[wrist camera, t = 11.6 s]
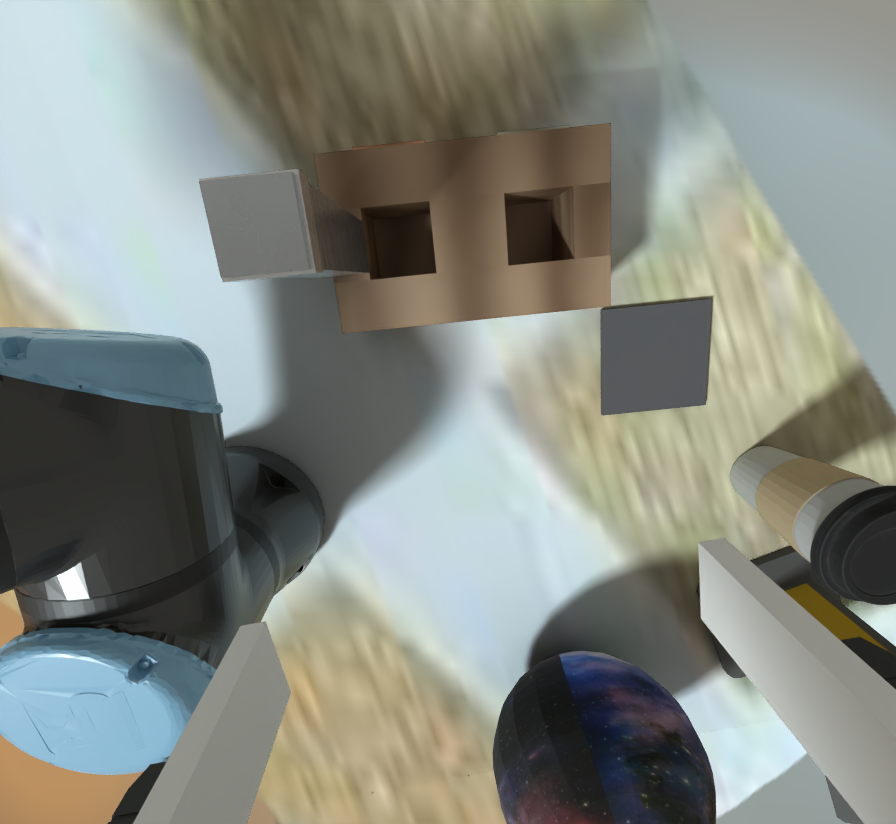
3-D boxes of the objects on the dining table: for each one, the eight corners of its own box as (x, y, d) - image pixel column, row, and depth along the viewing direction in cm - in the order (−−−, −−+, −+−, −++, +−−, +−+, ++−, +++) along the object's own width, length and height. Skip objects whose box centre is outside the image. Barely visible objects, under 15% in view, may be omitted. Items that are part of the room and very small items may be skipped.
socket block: (359, 323, 42) (342, 333, 34) (337, 173, 38) (312, 147, 31) (578, 300, 42) (610, 306, 34) (575, 148, 38) (610, 116, 31)
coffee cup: (822, 453, 47) (995, 532, 32) (764, 527, 49) (901, 632, 34) (749, 413, 45) (895, 476, 31) (692, 491, 47) (804, 584, 33)
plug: (321, 280, 33) (218, 282, 18) (311, 225, 32) (193, 176, 17) (372, 274, 33) (313, 272, 18) (364, 219, 32) (294, 166, 17)
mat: (601, 414, 45) (602, 415, 44) (600, 309, 42) (602, 310, 42) (703, 403, 45) (705, 404, 44) (709, 298, 42) (712, 299, 42)
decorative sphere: (644, 736, 57) (751, 971, 38) (482, 742, 56) (506, 982, 37) (662, 606, 51) (796, 802, 32) (483, 612, 51) (512, 814, 32)
